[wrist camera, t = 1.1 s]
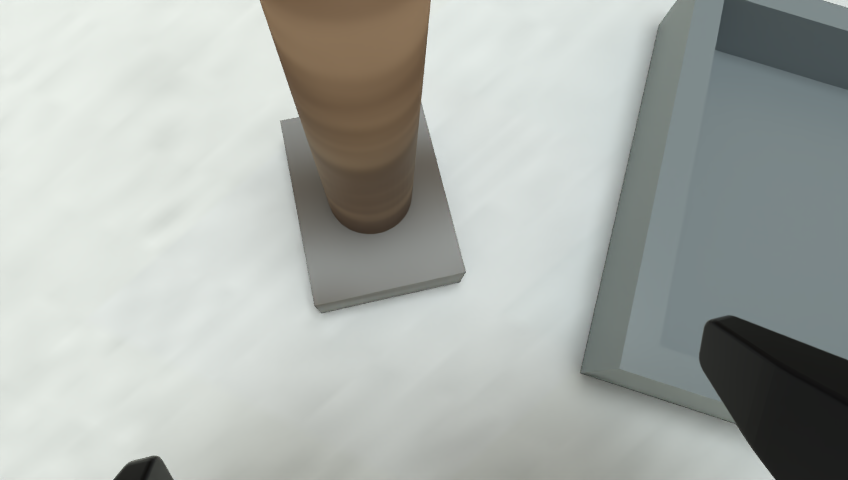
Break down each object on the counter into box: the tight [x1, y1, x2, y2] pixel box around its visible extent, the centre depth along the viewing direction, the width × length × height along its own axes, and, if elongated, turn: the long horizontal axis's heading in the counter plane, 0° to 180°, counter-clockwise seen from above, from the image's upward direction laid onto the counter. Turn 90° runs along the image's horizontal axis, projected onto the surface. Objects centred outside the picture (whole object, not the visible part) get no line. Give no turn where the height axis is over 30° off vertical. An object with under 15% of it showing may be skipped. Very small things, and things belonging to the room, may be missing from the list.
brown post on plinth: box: [260, 0, 466, 313], centre depth 17 cm, size 8×6×15 cm
